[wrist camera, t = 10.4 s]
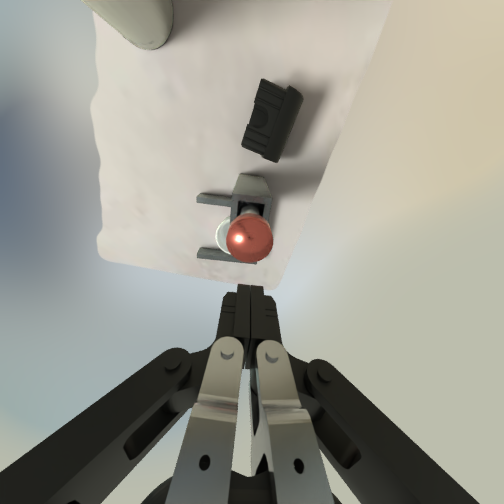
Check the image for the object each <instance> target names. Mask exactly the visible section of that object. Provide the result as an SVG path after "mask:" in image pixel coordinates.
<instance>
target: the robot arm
mask: <svg viewBox="0 0 504 504" xmlns="http://www.w3.org/2000/svg"><path fill="white" fill-rule="evenodd" d="M81 1H82V2H83V3H85V4H86V5H87V6H88V7H89V8H91V9H92V10H93V11H94V12H95V13H96V14H98V15H99V16H100V17H101V18H102V19H103V20H105V21H106V22H107V23H108V24H109V25H111V26H112V27H113V28H114V29H115V30H116V31H118V32H119V33H120V34H121V35H122V36H123V37H124V38H125V39H127V40H128V41H130V42H131V43H132V44H133V45H135V46H137V47H139V48H142V49H145V50H153V49H156V48H158V47H160V46H161V45H163V44H164V42H165V41H166V40H167V38H168V36H169V35H170V32H171V28H172V23H173V6H172V1H171V0H81ZM244 365H245V369H250V382H249V401H250V419H251V437H252V440H251V475H252V477H246V476H244V475H241V474H239V473H237V472H235V471H232V470H231V468H232V459H233V449H234V441H235V431H236V422H237V412H238V411H237V410H238V397H239V389H240V380H241V373H242V369H244ZM192 407H193V408H192ZM189 408H192V411H191V415H190V418H189V422H188V425H187V428H186V432H185V436H184V439H183V443H182V446H181V450H180V453H179V457H178V460H177V463H176V467H175V470H174V474H173V476H172V477H170V478H169V479H167V480H166V481H164V482H163V483H161V484H160V485H159V486H158V487H157V488H156V489H154V490H153V491H152V492H151V493H150V494H149V495H148V496H147V497H146V499H145V500H144V501H143V502H142V503H141V504H342V503H341V502H340V501H339V500H338V498H337V497H336V496H335V495H334V494H333V493H332V492H331V489H330V486H329V482H328V479H327V475H326V471H325V468H324V464H323V460H322V457H321V453H320V450H321V451H322V453H323V454H324V455H325V457H326V458H327V459H328V461H329V462H330V463H331V465H332V466H333V467H334V468H335V470H336V471H337V472H338V474H339V475H340V476H341V478H342V479H343V480H344V482H345V483H346V484H347V486H348V487H349V488H350V490H351V491H352V492H353V494H354V495H355V496H356V497H357V499H358V500H359V501H360V503H361V504H479V503H478V502H477V501H476V500H475V499H474V498H473V497H472V496H471V495H470V494H469V493H468V492H466V490H464V489H463V488H462V487H461V486H460V485H459V484H458V483H457V482H456V481H455V480H454V479H453V478H452V477H451V476H450V475H448V474H447V473H446V472H445V471H444V470H443V469H442V468H441V467H440V466H439V465H438V464H437V463H436V462H435V461H434V460H433V459H431V458H430V457H429V456H428V455H427V454H426V453H425V452H424V451H423V450H422V449H421V448H420V447H419V446H418V445H417V444H415V443H414V442H413V441H412V440H411V439H410V438H409V437H408V436H407V435H406V434H405V433H404V432H403V431H402V430H401V429H399V428H398V427H397V426H396V425H395V424H394V423H393V422H392V421H391V420H390V419H389V418H388V417H387V416H386V415H385V414H384V413H382V412H381V411H380V410H379V409H378V408H377V407H376V406H375V405H374V404H373V403H372V402H371V401H370V400H369V399H368V398H367V397H366V396H364V395H363V394H362V393H361V392H360V391H359V390H358V389H357V388H356V387H355V386H354V385H353V384H352V383H351V382H349V380H347V379H346V378H345V377H344V376H343V375H342V374H341V373H340V372H339V371H338V370H337V369H336V368H334V366H332V365H331V364H330V363H328V362H327V361H325V360H321V359H314V360H312V361H311V362H310V363H307V362H304V361H302V360H299V359H297V358H295V357H293V356H292V355H290V354H289V353H288V352H287V351H286V349H285V348H284V346H283V344H282V340H281V334H280V327H279V321H278V315H277V309H276V303H275V301H274V300H273V298H272V297H271V296H266V295H264V290H263V286H255V285H251V286H250V285H244V284H238V287H237V293H235V292H227V294H226V295H225V296H224V297H223V301H222V307H221V313H220V319H219V324H218V329H217V335H216V339H215V341H214V342H213V344H212V345H211V346H210V347H208V348H207V349H205V350H202V351H199V352H195V353H191V354H189V353H188V351H186V350H185V349H182V348H171V349H168V350H166V351H165V352H163V353H162V354H161V355H159V356H158V357H156V358H155V359H153V360H152V361H151V362H150V363H148V364H147V365H145V366H144V367H143V368H141V369H140V370H139V371H137V372H136V373H134V374H133V375H132V376H130V377H129V378H128V379H126V380H125V381H124V382H122V383H121V384H119V385H118V386H117V387H115V388H114V389H113V390H111V391H110V392H109V393H107V394H106V395H105V396H103V397H102V398H100V399H99V400H98V401H96V402H95V403H94V404H92V405H91V406H90V407H88V408H87V409H86V410H84V411H83V412H81V413H80V414H79V415H77V416H76V417H75V418H74V419H72V420H71V421H69V422H68V423H67V424H65V425H64V426H62V427H61V428H60V429H58V430H57V431H56V432H54V433H53V434H52V435H50V436H49V437H48V438H46V439H45V440H44V441H42V442H41V443H40V444H38V445H37V446H35V447H34V448H33V449H32V450H30V451H29V452H27V453H26V454H24V455H23V456H22V457H20V458H19V459H18V460H16V461H15V462H14V463H12V464H11V465H10V466H8V467H7V468H5V469H4V470H3V471H1V472H0V504H101V503H102V502H103V501H104V499H105V498H106V497H107V496H108V495H109V494H110V493H111V492H112V491H113V490H114V489H115V488H116V487H117V486H118V484H119V483H120V482H121V481H122V480H123V479H124V478H125V477H126V476H127V475H128V474H129V473H130V472H131V471H132V469H133V468H134V467H135V466H136V465H137V464H138V463H139V462H140V461H141V460H142V459H143V458H144V457H145V455H146V454H147V453H148V452H149V451H150V450H151V449H152V448H153V447H154V446H155V445H156V444H157V442H159V440H160V439H161V438H162V437H163V436H164V435H165V434H166V433H167V432H168V431H169V430H170V429H171V427H172V426H173V425H174V424H175V423H176V422H177V421H178V420H179V419H180V418H181V417H182V416H183V415H184V414H185V412H186V411H187V410H188V409H189ZM319 449H320V450H319ZM294 466H295V467H294Z"/></svg>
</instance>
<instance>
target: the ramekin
mask: <svg viewBox="0 0 504 504" xmlns="http://www.w3.org/2000/svg"><path fill="white" fill-rule="evenodd" d="M229 226H230V216H229V217H227V218H226V219H225V220H224V221H223V222H222V223H221V224H220V225H219V227H218V228H217V231H216V241H217V244H218V246H219V247H220V248H221V249H222V250H223V251H224V252H226V253H228V254H230V252H229V251H228V249H227V246H226V237H227V233H228V229H229Z"/></svg>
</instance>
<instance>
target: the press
mask: <svg viewBox="0 0 504 504" xmlns="http://www.w3.org/2000/svg"><path fill="white" fill-rule="evenodd" d="M245 201H246V202H254V203H257V205H258V209H259V215H260V216H262V217H263V218H264V219H265V220H266V221H267V222H268V220H269V215H270V209H271V204H272V196H271V194H270V191H269V189H268V186H267V184H266V181H265V179H264V177H260V176H252V175H245V174H239V177H238V179H237V182H236V185H235V187H234V190H233V192H232V197H224V196H216V195H209V194H201V193H200V194H199V195H198V196H197V203H203V204H211V205H219V206H227V207H231V215H230V224H231V222H232V221H233V220H234V219H235V218H236V217H238V216H239V215H241V209H242V205H243V203H244V202H245ZM197 258H202V259H211V260H220V261H229V262H239V263H248V262H242V261H240V260H238V259H236V258H234V257H233V256H232V255H231V254H228V253H226V252H224V251H223V250H217V249H208V248H200V249H199V251H198V253H197ZM248 264H257V262H251V263H248Z"/></svg>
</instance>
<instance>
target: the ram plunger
mask: <svg viewBox="0 0 504 504" xmlns="http://www.w3.org/2000/svg"><path fill="white" fill-rule="evenodd" d="M226 246H227V249H228V251H229V252H230V254H231V255H232V256H233V257H234V258H236V259H238V260H240V261H242V262H248V263H251V262H257V261H260V260H262V259H264V258H265V257H266V256H267V255H268V254H269V253H270V251H271V249H272V246H273V236H272V232H271V228H270V225H269V223H268V222H267V221H266V220H265V219H264V218H263V217H262V216H260V215H259V209H258V205H257V203H254V202H246V201H245V202H244V203H243V205H242V209H241V215H239V216H238V217H236V218H235V219H234V220H233V221H232V222H231V224H230V226H229V229H228V233H227V237H226Z"/></svg>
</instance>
